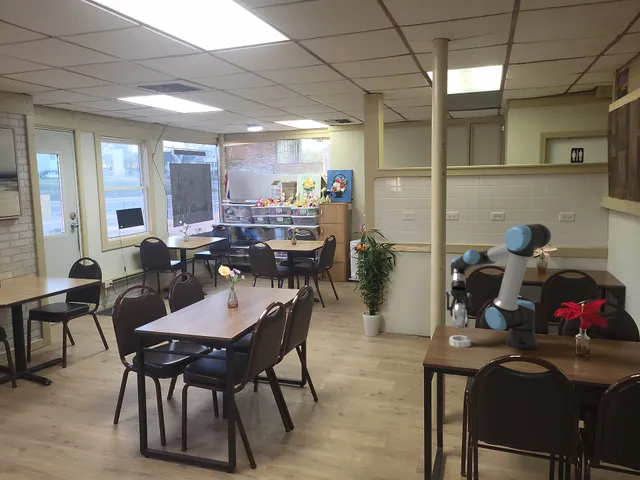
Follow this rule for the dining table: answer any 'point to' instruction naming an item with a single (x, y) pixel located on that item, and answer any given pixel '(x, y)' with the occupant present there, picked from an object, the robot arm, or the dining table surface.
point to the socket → (460, 341)
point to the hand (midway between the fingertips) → (460, 321)
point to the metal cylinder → (459, 315)
